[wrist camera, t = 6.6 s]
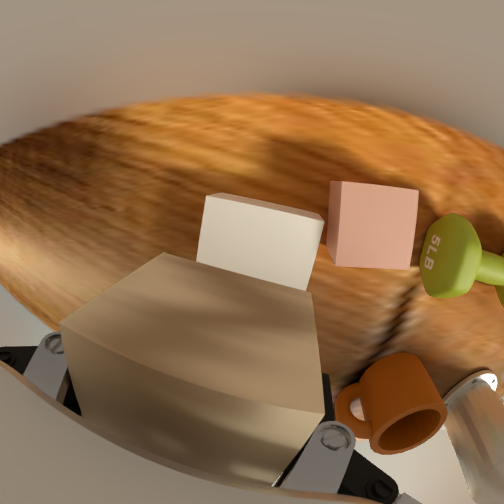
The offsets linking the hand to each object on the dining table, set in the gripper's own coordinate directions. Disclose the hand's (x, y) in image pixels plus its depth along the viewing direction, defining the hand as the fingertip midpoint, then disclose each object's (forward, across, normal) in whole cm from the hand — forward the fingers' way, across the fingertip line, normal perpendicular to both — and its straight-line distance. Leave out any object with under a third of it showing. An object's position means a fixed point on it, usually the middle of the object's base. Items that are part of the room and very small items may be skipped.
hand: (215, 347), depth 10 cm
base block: (+16, 0, 0) cm, 16 cm away
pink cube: (+16, -8, -5) cm, 19 cm away
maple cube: (+1, 0, 0) cm, 1 cm away
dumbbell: (+16, -23, -5) cm, 29 cm away
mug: (+16, -18, +12) cm, 27 cm away
